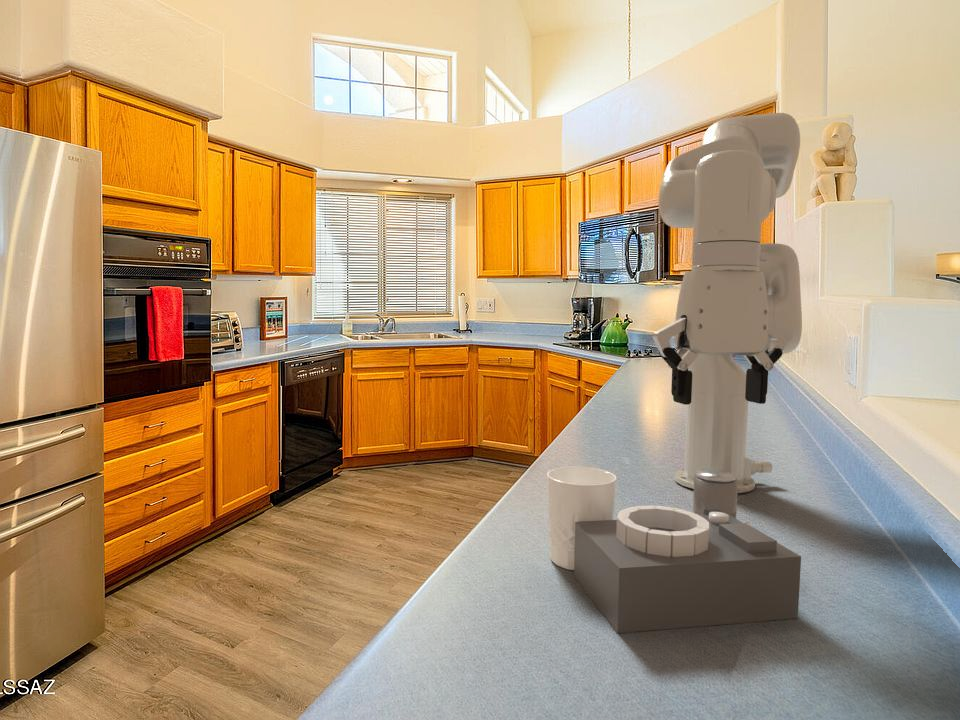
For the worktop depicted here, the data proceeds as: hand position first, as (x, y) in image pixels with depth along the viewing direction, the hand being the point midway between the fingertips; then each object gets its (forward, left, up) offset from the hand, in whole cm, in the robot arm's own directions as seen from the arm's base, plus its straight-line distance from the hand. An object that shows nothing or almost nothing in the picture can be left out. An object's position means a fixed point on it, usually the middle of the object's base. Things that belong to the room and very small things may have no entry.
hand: (718, 402), depth 74 cm
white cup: (+18, +2, -18) cm, 26 cm away
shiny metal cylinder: (0, 0, -18) cm, 18 cm away
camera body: (+11, +12, -18) cm, 24 cm away
